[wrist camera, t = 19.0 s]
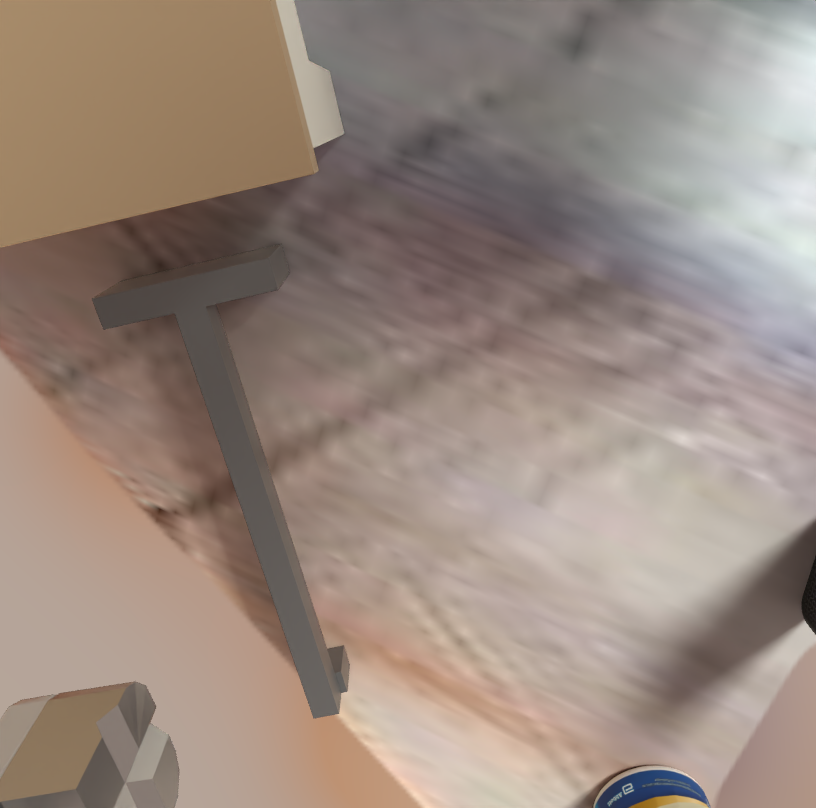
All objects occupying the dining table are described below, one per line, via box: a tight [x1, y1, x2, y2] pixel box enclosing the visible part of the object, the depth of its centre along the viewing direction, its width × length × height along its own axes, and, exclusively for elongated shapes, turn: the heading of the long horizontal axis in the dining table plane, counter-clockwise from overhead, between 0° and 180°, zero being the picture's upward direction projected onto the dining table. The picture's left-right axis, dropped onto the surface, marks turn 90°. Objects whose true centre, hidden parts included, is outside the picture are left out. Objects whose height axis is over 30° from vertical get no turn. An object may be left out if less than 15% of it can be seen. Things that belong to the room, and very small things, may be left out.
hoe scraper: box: [92, 244, 350, 718], centre depth 44 cm, size 28×9×4 cm, turn 13°
